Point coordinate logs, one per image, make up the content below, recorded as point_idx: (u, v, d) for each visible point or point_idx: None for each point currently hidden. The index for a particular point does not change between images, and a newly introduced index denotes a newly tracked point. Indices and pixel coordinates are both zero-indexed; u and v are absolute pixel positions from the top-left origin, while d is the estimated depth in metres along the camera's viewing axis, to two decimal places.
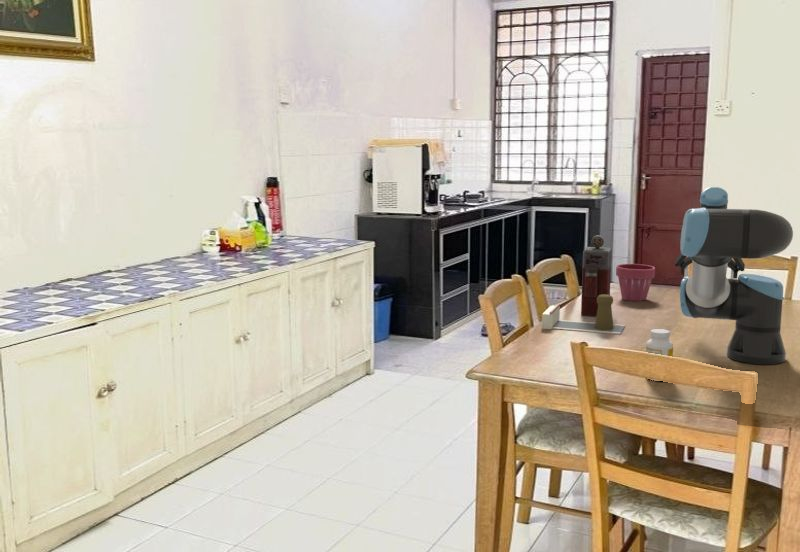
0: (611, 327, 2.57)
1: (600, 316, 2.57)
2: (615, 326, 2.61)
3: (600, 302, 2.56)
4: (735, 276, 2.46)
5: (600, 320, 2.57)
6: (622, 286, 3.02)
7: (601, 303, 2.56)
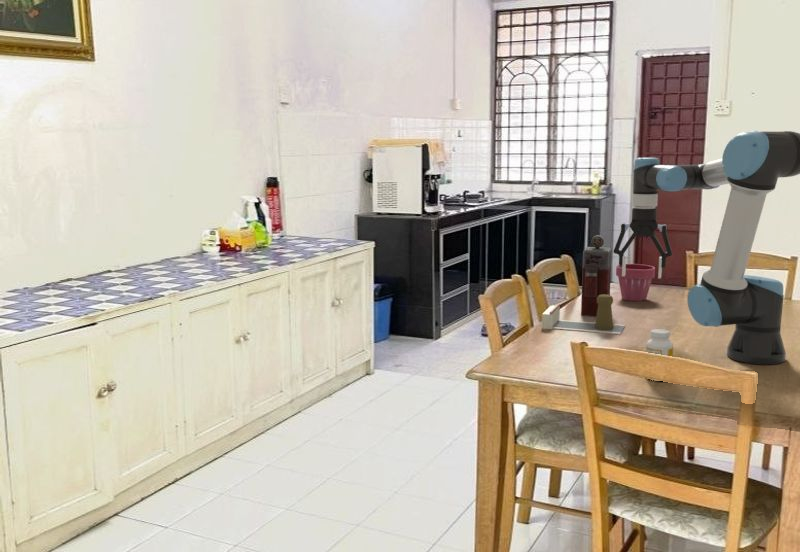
0: (611, 327, 2.57)
1: (600, 316, 2.57)
2: (615, 326, 2.61)
3: (600, 302, 2.56)
4: (663, 264, 2.48)
5: (600, 320, 2.57)
6: (622, 286, 3.02)
7: (601, 303, 2.56)
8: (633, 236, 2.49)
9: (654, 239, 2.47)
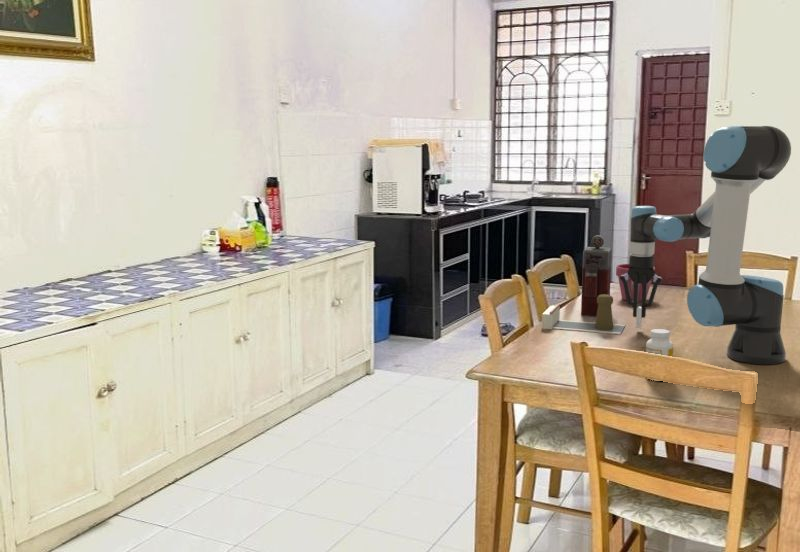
0: (611, 327, 2.57)
1: (600, 316, 2.57)
2: (615, 326, 2.61)
3: (600, 302, 2.56)
4: (643, 314, 2.53)
5: (600, 320, 2.57)
6: (622, 286, 3.02)
7: (601, 303, 2.56)
8: (636, 285, 2.51)
9: (644, 288, 2.51)
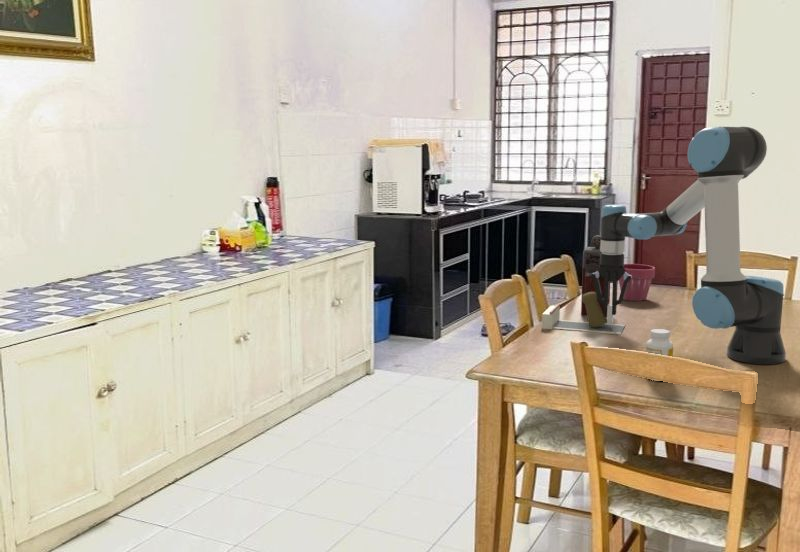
0: (604, 321, 2.57)
1: (590, 314, 2.58)
2: (615, 326, 2.61)
3: (585, 301, 2.58)
4: (614, 312, 2.56)
5: (591, 318, 2.58)
6: None
7: (586, 302, 2.57)
8: (606, 282, 2.55)
9: (614, 286, 2.54)
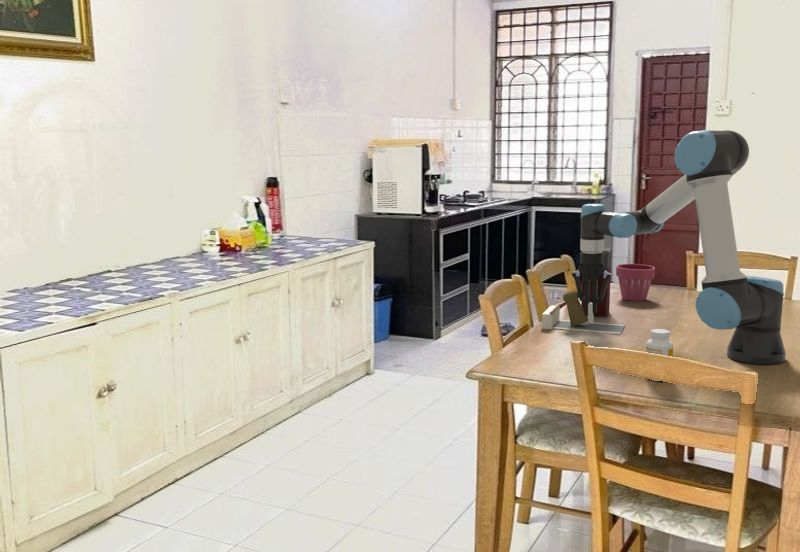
0: (586, 319, 2.60)
1: (572, 312, 2.60)
2: (615, 326, 2.61)
3: (566, 300, 2.60)
4: (594, 310, 2.59)
5: (573, 317, 2.60)
6: (622, 286, 3.02)
7: (568, 301, 2.60)
8: (587, 281, 2.57)
9: (595, 284, 2.57)
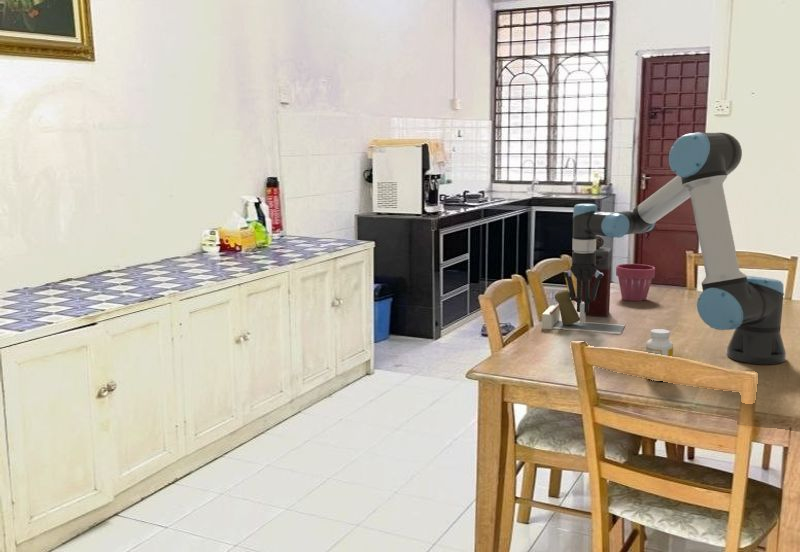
0: (577, 319, 2.61)
1: (563, 312, 2.61)
2: (615, 326, 2.61)
3: (558, 300, 2.61)
4: (586, 309, 2.60)
5: (565, 316, 2.61)
6: (622, 286, 3.02)
7: (560, 300, 2.60)
8: (578, 280, 2.58)
9: (586, 284, 2.58)
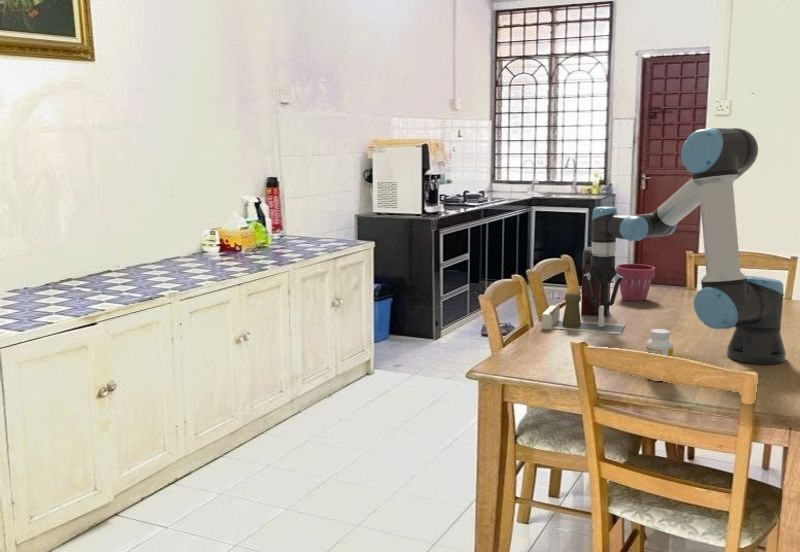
0: (578, 324, 2.61)
1: (568, 313, 2.60)
2: (615, 326, 2.61)
3: (568, 300, 2.60)
4: (605, 313, 2.57)
5: (567, 318, 2.61)
6: (622, 286, 3.02)
7: (569, 301, 2.60)
8: (598, 284, 2.56)
9: (606, 287, 2.55)
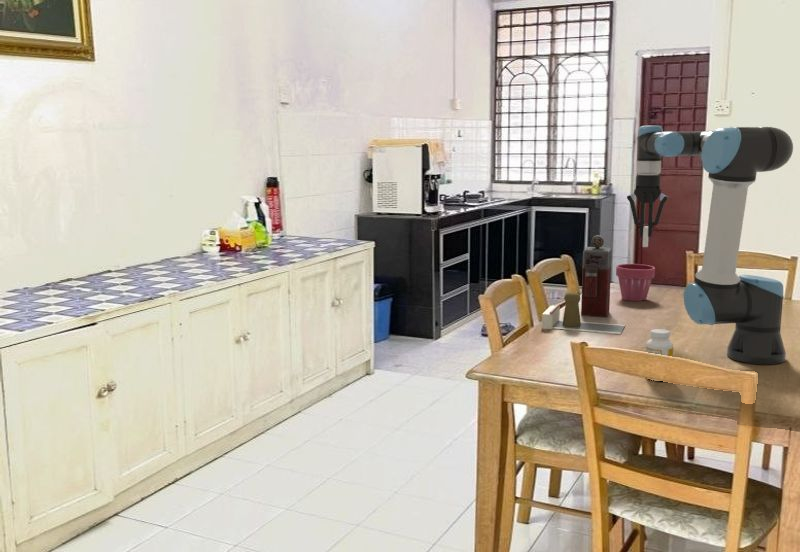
0: (578, 324, 2.61)
1: (568, 313, 2.61)
2: (615, 326, 2.61)
3: (567, 300, 2.60)
4: (650, 233, 2.58)
5: (567, 318, 2.61)
6: (622, 286, 3.02)
7: (568, 301, 2.60)
8: (642, 204, 2.56)
9: (651, 207, 2.56)
